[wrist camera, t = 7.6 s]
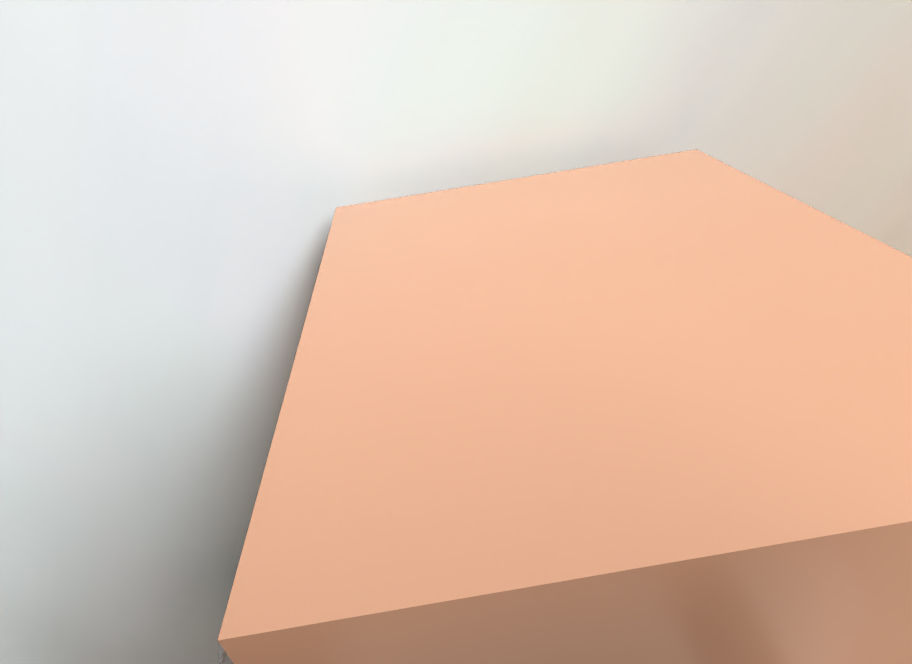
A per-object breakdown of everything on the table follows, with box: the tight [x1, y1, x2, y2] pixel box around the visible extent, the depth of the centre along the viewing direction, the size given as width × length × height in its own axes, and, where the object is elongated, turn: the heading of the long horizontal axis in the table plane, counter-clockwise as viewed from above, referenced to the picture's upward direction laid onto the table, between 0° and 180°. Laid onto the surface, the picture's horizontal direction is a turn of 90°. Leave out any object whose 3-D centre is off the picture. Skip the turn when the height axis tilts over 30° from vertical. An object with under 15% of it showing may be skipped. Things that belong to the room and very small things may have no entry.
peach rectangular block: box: [218, 149, 912, 664], centre depth 8 cm, size 9×6×7 cm, turn 8°
